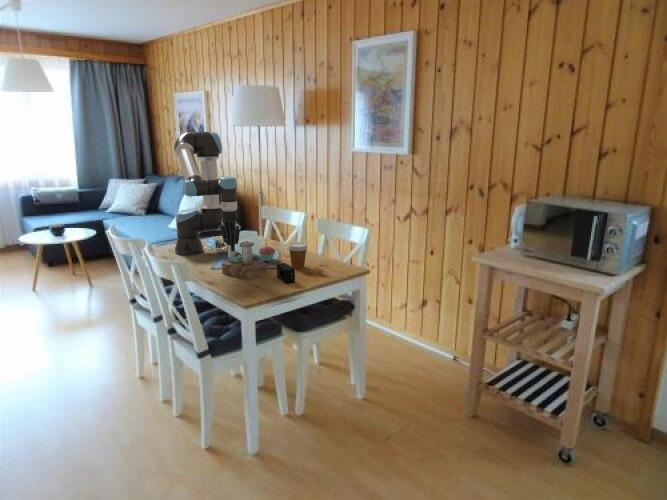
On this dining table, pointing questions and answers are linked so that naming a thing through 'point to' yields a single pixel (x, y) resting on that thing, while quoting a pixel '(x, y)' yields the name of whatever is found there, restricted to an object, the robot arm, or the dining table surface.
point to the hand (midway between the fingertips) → (231, 257)
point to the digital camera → (286, 273)
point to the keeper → (236, 258)
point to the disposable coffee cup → (297, 254)
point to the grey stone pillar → (247, 252)
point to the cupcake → (266, 252)
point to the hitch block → (244, 269)
